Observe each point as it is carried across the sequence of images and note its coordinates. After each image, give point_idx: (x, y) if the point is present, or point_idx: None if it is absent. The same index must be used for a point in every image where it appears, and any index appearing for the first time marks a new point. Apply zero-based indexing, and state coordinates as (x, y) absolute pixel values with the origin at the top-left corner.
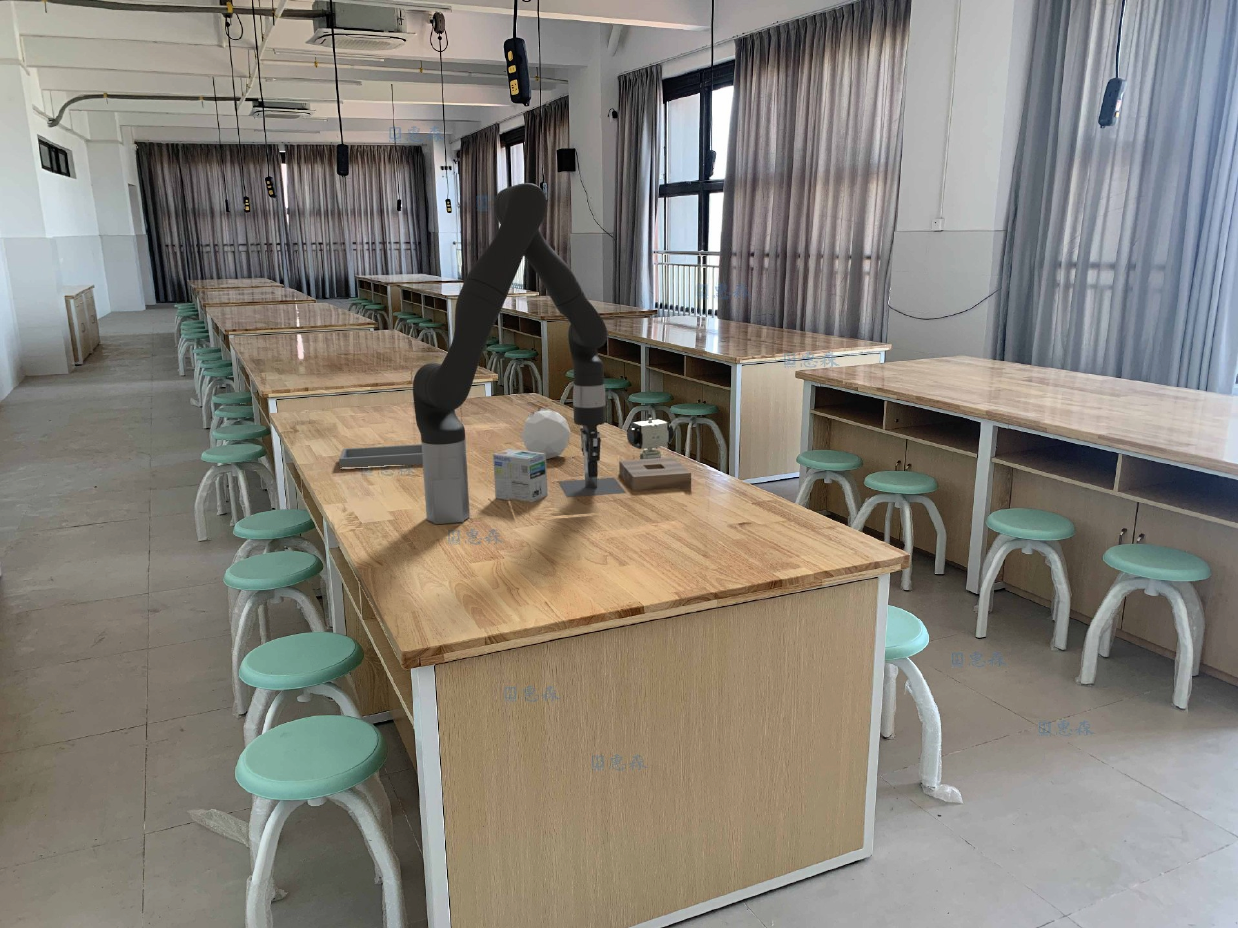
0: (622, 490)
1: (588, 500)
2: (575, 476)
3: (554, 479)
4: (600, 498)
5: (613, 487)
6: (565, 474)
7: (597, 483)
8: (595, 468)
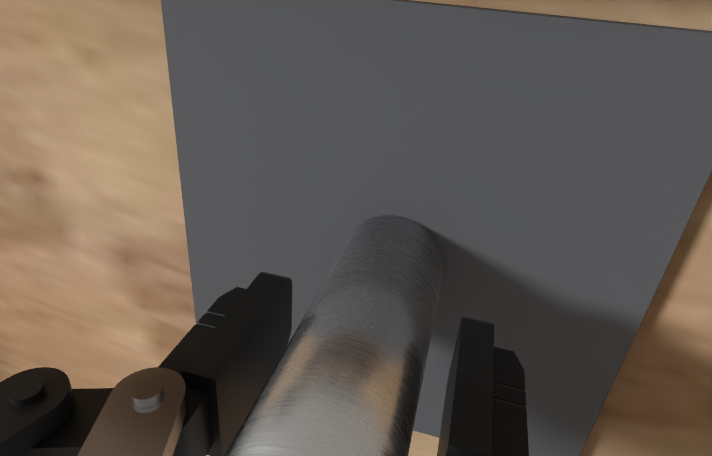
0: (653, 50)
1: (679, 373)
2: (60, 220)
3: (118, 341)
4: (687, 286)
5: (492, 101)
6: (18, 254)
7: (404, 231)
8: (525, 424)
